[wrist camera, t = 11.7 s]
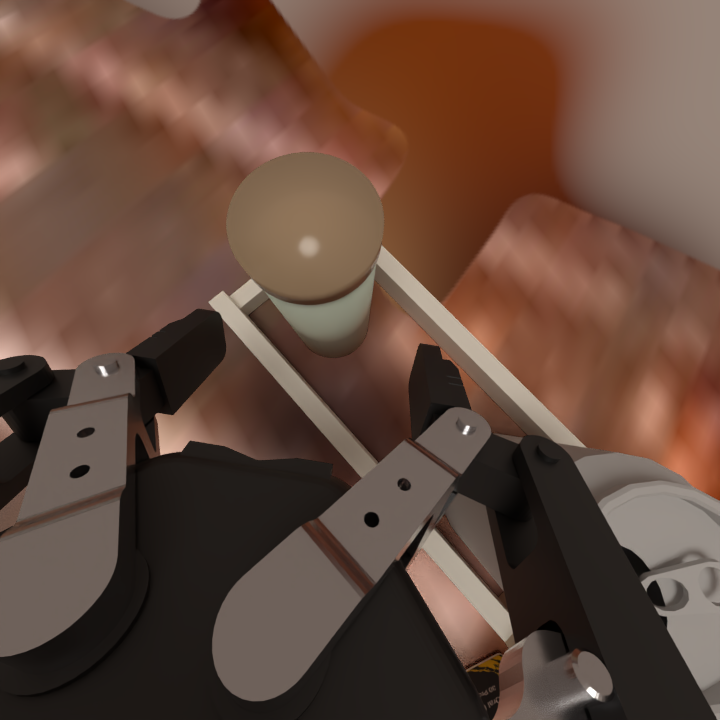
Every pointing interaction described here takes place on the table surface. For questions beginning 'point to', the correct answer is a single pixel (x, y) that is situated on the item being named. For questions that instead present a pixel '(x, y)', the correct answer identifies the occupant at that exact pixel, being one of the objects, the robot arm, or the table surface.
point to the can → (644, 547)
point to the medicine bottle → (487, 682)
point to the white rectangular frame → (456, 345)
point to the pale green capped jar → (311, 245)
